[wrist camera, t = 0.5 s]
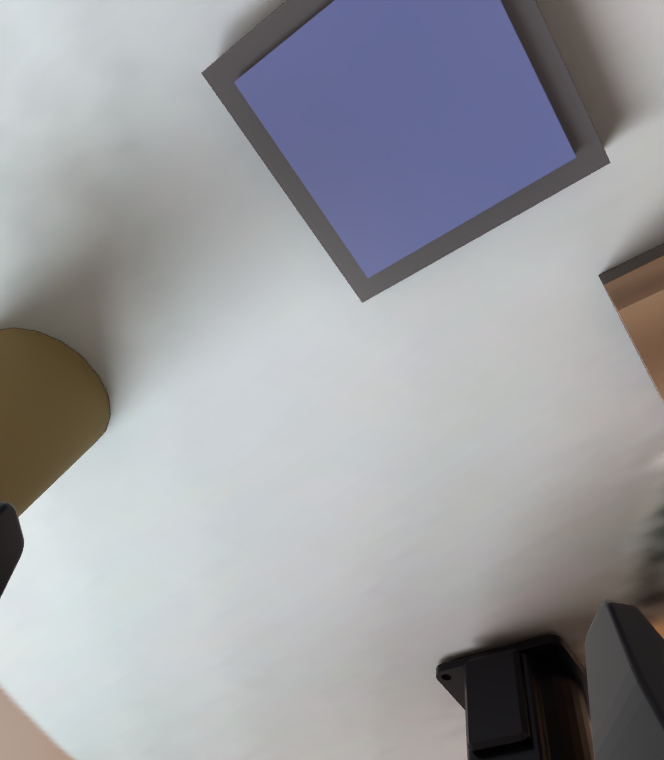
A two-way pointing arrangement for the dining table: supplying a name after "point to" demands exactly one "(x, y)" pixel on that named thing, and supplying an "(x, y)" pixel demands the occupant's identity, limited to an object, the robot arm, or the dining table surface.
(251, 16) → the dining table surface
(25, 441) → the cork
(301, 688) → the dining table surface
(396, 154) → the ink pad
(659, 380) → the stamp
